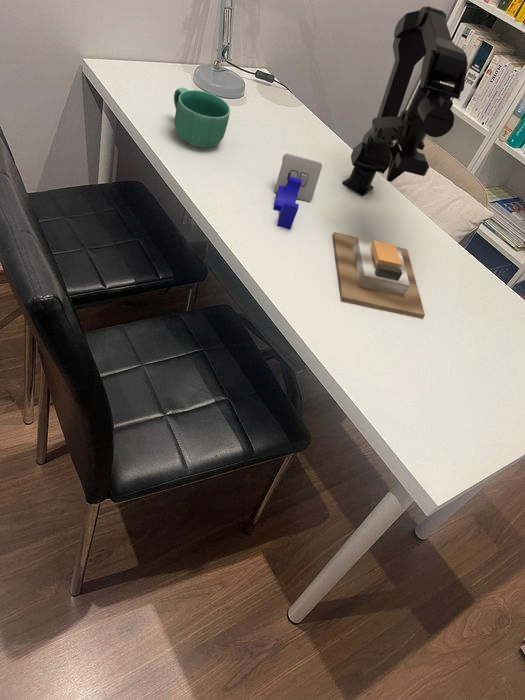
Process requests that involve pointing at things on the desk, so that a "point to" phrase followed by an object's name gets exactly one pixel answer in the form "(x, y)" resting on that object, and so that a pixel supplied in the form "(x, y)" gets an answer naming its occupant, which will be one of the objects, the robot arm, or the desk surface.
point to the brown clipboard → (375, 278)
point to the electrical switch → (300, 174)
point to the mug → (200, 117)
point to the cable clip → (287, 202)
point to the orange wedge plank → (385, 254)
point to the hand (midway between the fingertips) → (388, 180)
